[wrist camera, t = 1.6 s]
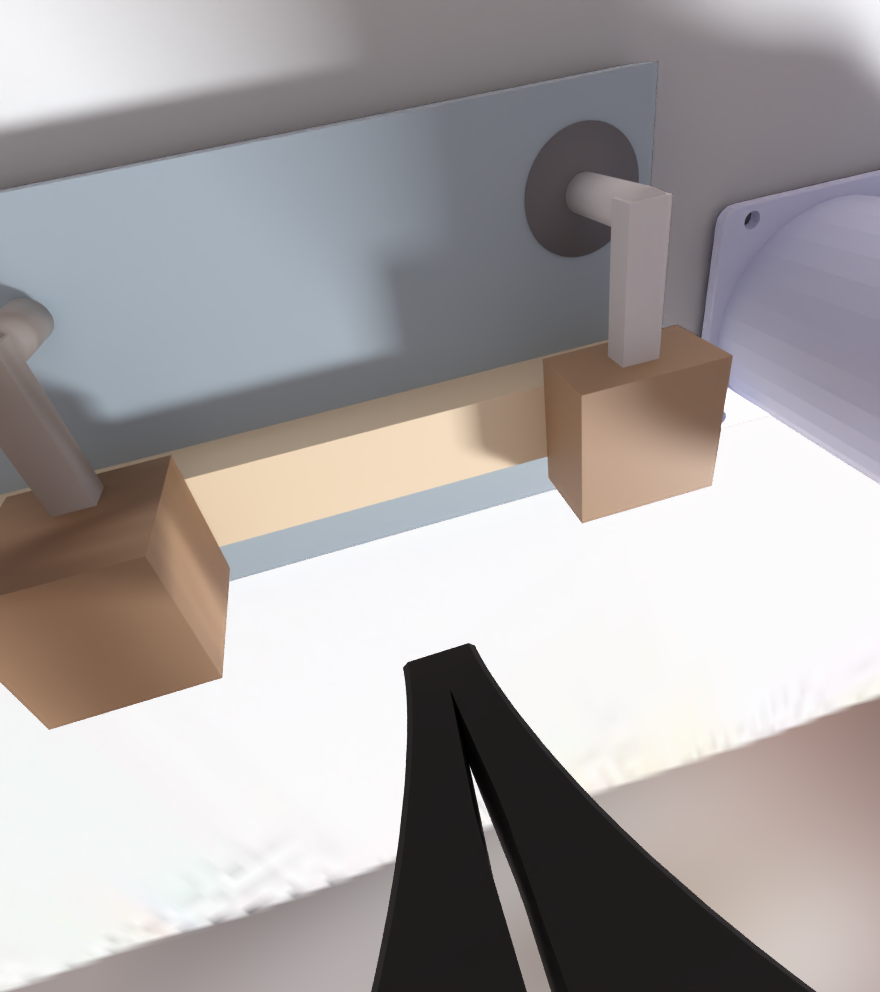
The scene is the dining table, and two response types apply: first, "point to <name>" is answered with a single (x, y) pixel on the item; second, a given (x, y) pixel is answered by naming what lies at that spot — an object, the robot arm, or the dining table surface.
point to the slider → (96, 561)
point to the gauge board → (378, 318)
